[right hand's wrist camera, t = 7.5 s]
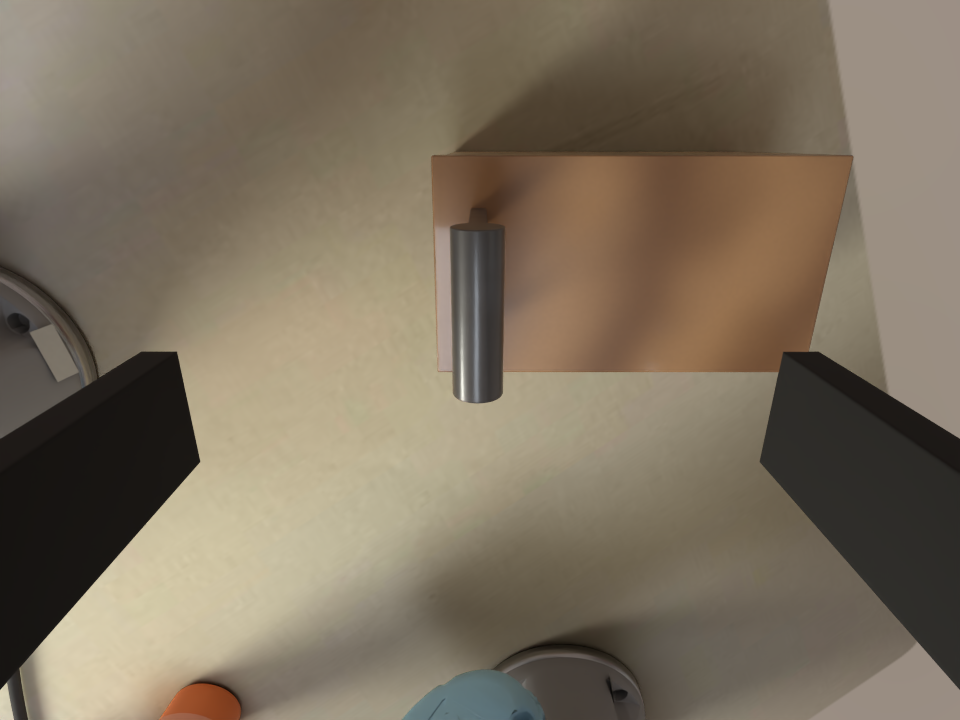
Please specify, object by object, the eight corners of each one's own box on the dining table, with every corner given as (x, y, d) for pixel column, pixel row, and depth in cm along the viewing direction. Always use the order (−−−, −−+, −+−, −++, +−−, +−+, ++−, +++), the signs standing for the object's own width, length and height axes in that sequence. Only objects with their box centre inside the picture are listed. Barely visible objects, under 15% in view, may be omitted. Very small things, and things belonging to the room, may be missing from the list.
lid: (439, 362, 28) (422, 454, 20) (433, 154, 25) (409, 160, 16) (790, 363, 28) (920, 454, 20) (836, 154, 25) (1017, 161, 16)
